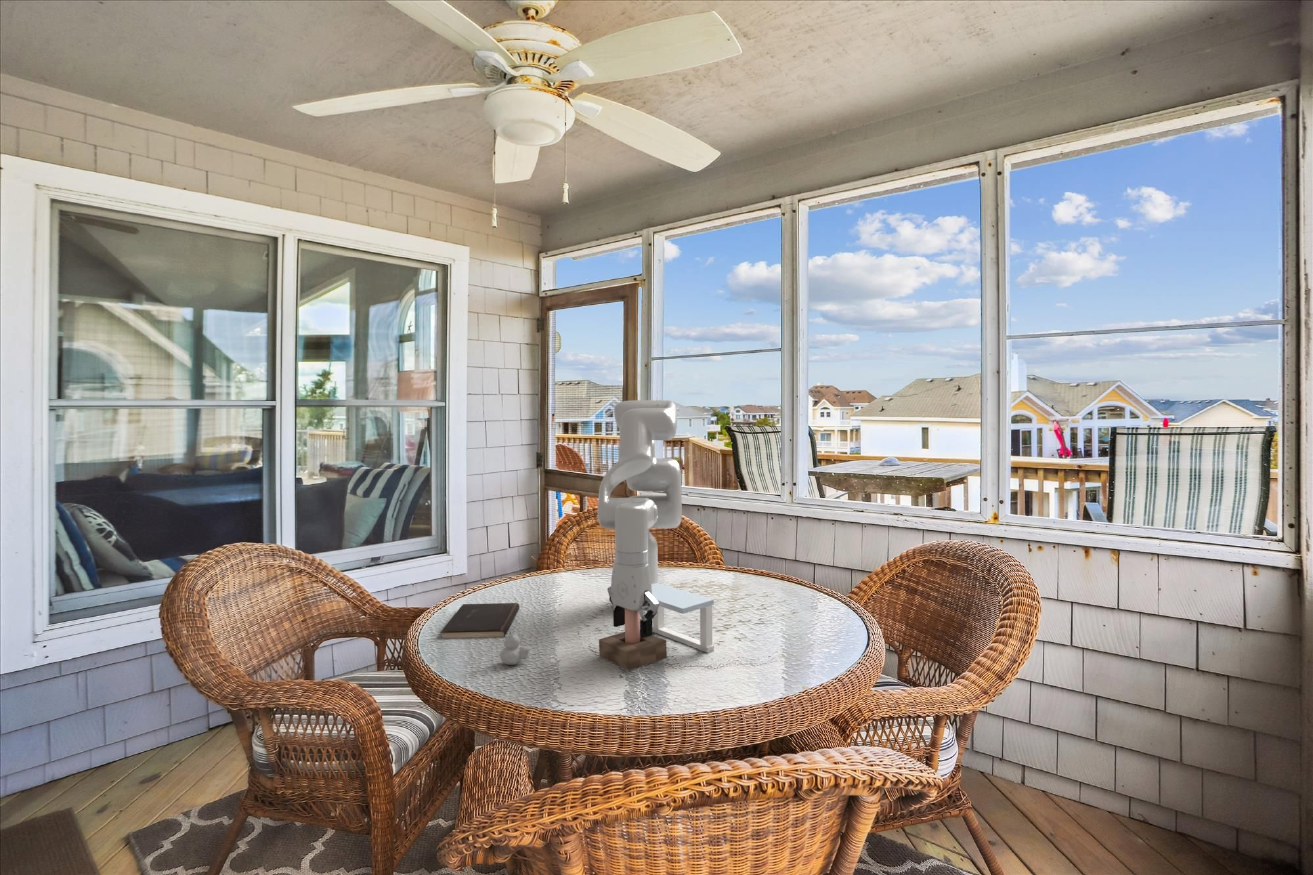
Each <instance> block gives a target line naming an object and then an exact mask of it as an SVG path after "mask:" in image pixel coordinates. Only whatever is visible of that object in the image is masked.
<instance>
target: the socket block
mask: <svg viewBox="0 0 1313 875" xmlns="http://www.w3.org/2000/svg"><path fill="white" fill-rule="evenodd" d="M598 643H599V644H598V648H599V649H598V651H599V652H598V654H599V655H598V657H600V658H602V659H604V660H605V661H608V662H610V663H612V664H615V665H616V666H619V667H620V668H622V669H625V670H627V671H632V670H635V669H638V668H641V667H644V666H647V665H650V664H652V663H654V662H655V663H656V662H658V661H660V660H664V659H666V658H668V657H667V640H666V639H664V638H661V637H659V636H656V635H654V634H652V635H651V636H648V637H645V638H641V637H640V642H639V643H636V644H633V645H630V644H628V643H625V631H623V632H619V633H616V634H613V635H608V636H606V637H603V638H599V639H598Z"/></svg>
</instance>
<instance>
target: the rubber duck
mask: <svg viewBox="0 0 1313 875" xmlns="http://www.w3.org/2000/svg"><path fill="white" fill-rule="evenodd" d="M503 644H504V648H503V649H501V651H500V653H499V657H500V660H501V661H502V663H503V664H505V665H509V666H513V665H514V666H515V665H517V664H519V663H521V661H522V660H527V659H528V658H530V657H529V652H530V647H529V646H525V645H524V646H521V645H520V644H521V639H520V638H519V635H517V633H516V632H515V631H512V629H511V628H509V634H507V636H506V639H505V640H504V641H503Z"/></svg>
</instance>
